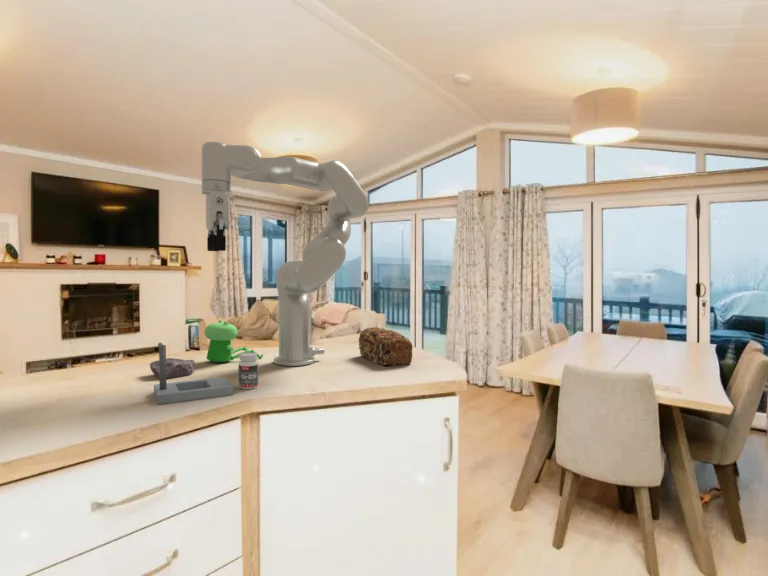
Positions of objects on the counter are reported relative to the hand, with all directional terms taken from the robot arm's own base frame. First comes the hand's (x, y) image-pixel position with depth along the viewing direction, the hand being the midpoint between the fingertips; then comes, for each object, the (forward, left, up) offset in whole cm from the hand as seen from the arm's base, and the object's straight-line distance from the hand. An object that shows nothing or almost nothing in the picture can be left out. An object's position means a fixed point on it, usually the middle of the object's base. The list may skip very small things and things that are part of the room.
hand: (216, 250), depth 130 cm
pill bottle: (-4, +19, -35) cm, 40 cm away
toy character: (-8, -14, -35) cm, 38 cm away
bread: (-51, +7, -35) cm, 62 cm away
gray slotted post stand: (+9, +19, -34) cm, 40 cm away
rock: (+11, -3, -35) cm, 37 cm away
